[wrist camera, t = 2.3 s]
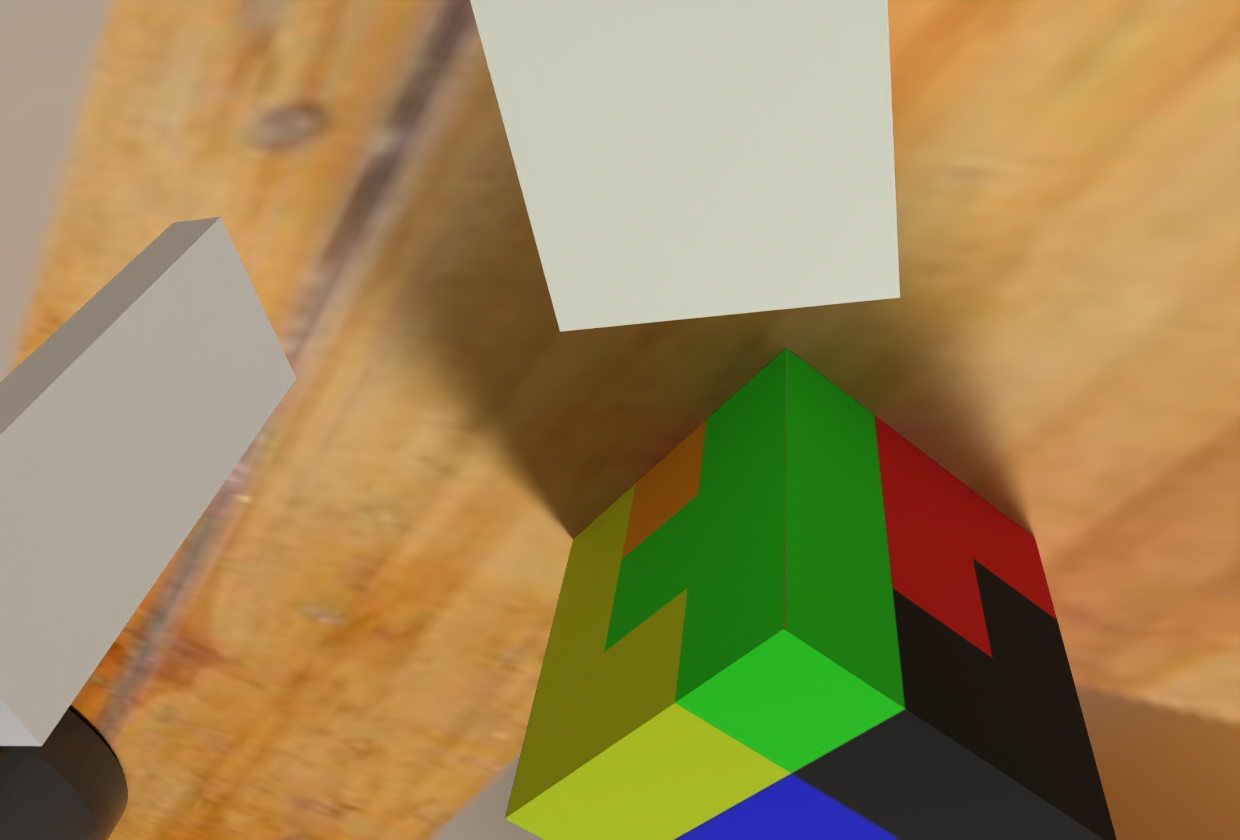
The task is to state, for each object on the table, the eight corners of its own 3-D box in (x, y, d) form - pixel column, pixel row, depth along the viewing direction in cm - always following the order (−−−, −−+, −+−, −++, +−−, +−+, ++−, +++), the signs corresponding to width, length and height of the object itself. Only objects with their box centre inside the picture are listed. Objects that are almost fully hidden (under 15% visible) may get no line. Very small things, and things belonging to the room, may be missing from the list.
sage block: (619, 156, 25) (559, 331, 19) (563, -113, 21) (467, -10, 15) (871, 122, 23) (900, 297, 17) (855, -171, 20) (883, -86, 14)
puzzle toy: (800, 683, 36) (802, 976, 28) (573, 537, 33) (504, 818, 25) (1034, 536, 30) (1118, 849, 22) (786, 346, 27) (783, 629, 20)
